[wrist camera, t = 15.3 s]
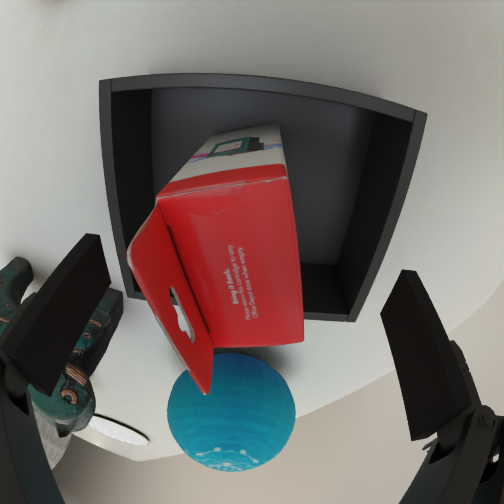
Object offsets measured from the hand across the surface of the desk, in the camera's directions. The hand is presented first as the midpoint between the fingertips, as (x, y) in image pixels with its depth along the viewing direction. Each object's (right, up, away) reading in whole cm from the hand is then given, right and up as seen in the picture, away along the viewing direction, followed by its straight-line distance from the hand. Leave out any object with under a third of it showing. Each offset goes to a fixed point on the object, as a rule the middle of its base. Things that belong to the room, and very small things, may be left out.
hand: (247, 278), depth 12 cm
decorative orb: (-2, -13, +24) cm, 28 cm away
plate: (-39, -50, +52) cm, 82 cm away
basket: (0, +7, +10) cm, 12 cm away
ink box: (0, +7, +9) cm, 11 cm away
